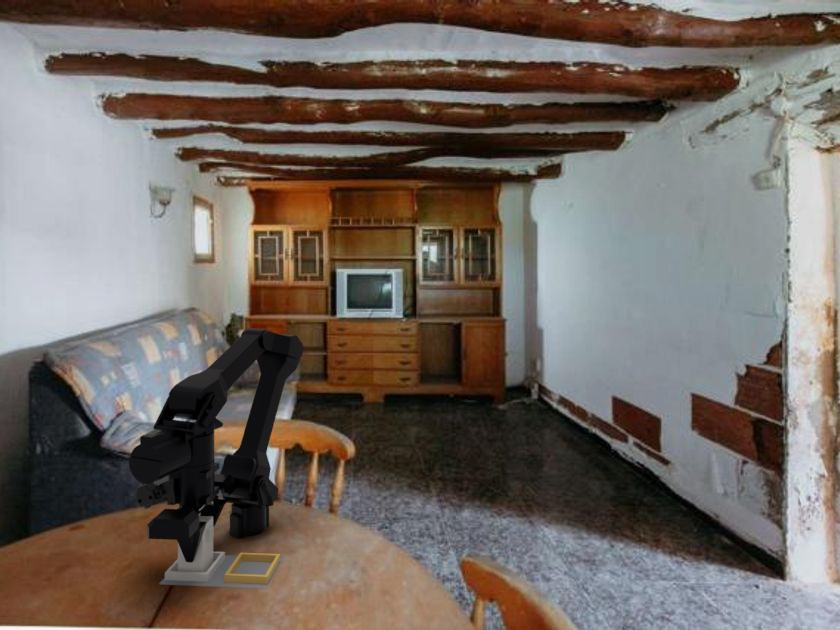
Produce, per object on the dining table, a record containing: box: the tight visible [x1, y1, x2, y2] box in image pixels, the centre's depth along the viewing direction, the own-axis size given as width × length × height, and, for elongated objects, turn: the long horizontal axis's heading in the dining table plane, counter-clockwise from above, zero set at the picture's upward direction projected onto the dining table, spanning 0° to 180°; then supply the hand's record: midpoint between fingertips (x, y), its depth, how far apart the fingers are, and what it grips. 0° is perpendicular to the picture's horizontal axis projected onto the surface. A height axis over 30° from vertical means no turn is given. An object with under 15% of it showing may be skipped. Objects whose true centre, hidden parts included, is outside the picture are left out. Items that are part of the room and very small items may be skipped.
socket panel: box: [158, 550, 285, 590], centre depth 86 cm, size 17×9×2 cm, turn 88°
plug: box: [177, 516, 215, 573], centre depth 86 cm, size 5×4×8 cm
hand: (196, 554), depth 86 cm, fingers closed on plug, 4 cm apart
